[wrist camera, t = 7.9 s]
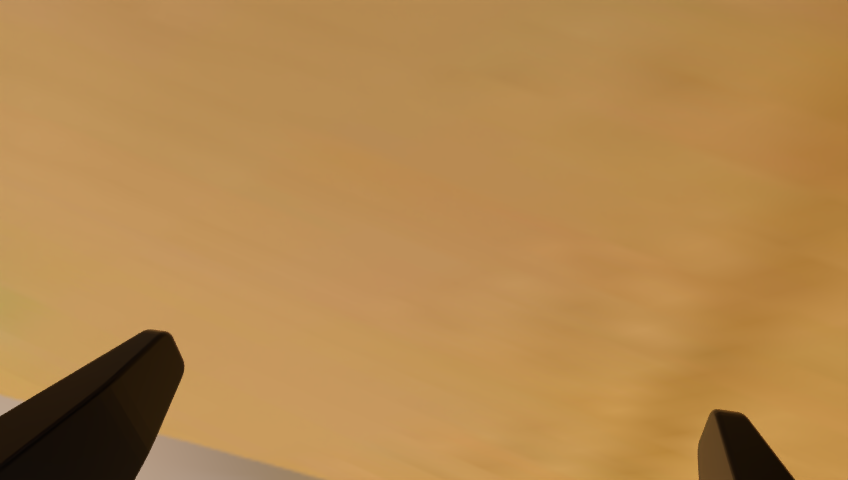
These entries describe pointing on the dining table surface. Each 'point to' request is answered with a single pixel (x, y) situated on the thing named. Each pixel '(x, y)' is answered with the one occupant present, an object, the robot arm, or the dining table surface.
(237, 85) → the dining table surface
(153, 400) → the robot arm
